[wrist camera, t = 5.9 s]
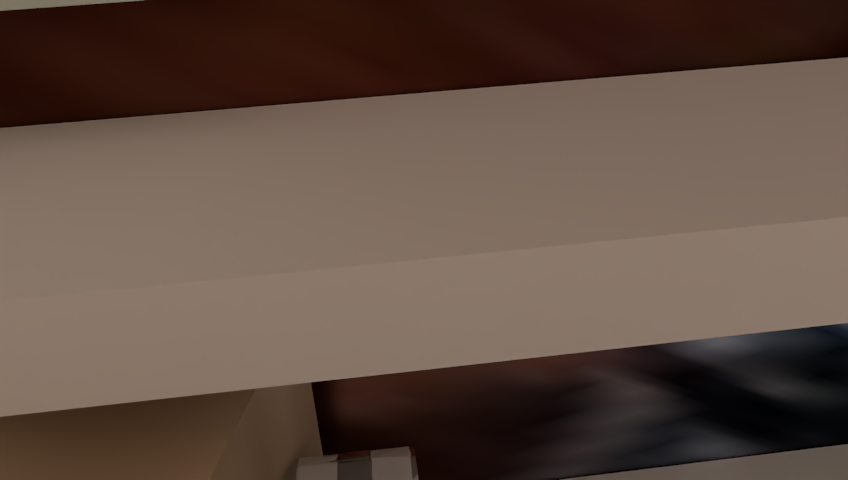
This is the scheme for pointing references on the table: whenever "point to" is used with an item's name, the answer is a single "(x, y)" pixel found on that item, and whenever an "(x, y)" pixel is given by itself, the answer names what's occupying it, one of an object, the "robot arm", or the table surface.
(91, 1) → the tile
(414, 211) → the frame
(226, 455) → the maple block
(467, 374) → the table surface
